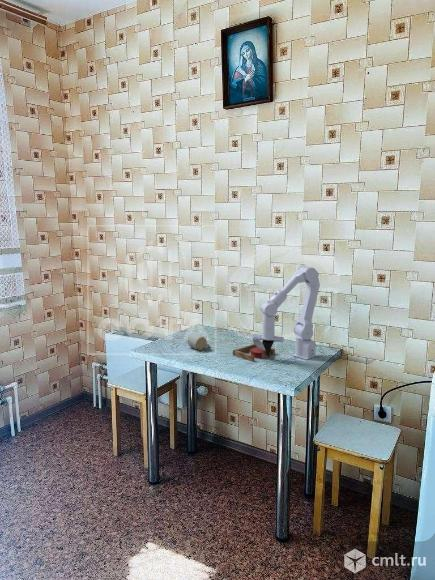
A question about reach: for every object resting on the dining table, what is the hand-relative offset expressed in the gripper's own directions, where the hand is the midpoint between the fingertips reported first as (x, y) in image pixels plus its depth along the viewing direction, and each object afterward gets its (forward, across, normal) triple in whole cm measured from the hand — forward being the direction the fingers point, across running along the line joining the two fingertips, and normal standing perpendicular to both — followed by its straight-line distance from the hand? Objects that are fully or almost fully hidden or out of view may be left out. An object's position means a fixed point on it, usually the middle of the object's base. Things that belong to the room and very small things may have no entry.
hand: (268, 355), depth 211 cm
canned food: (+2, +4, -5) cm, 7 cm away
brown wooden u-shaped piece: (+2, +7, -4) cm, 9 cm away
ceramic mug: (+2, +37, -9) cm, 39 cm away
